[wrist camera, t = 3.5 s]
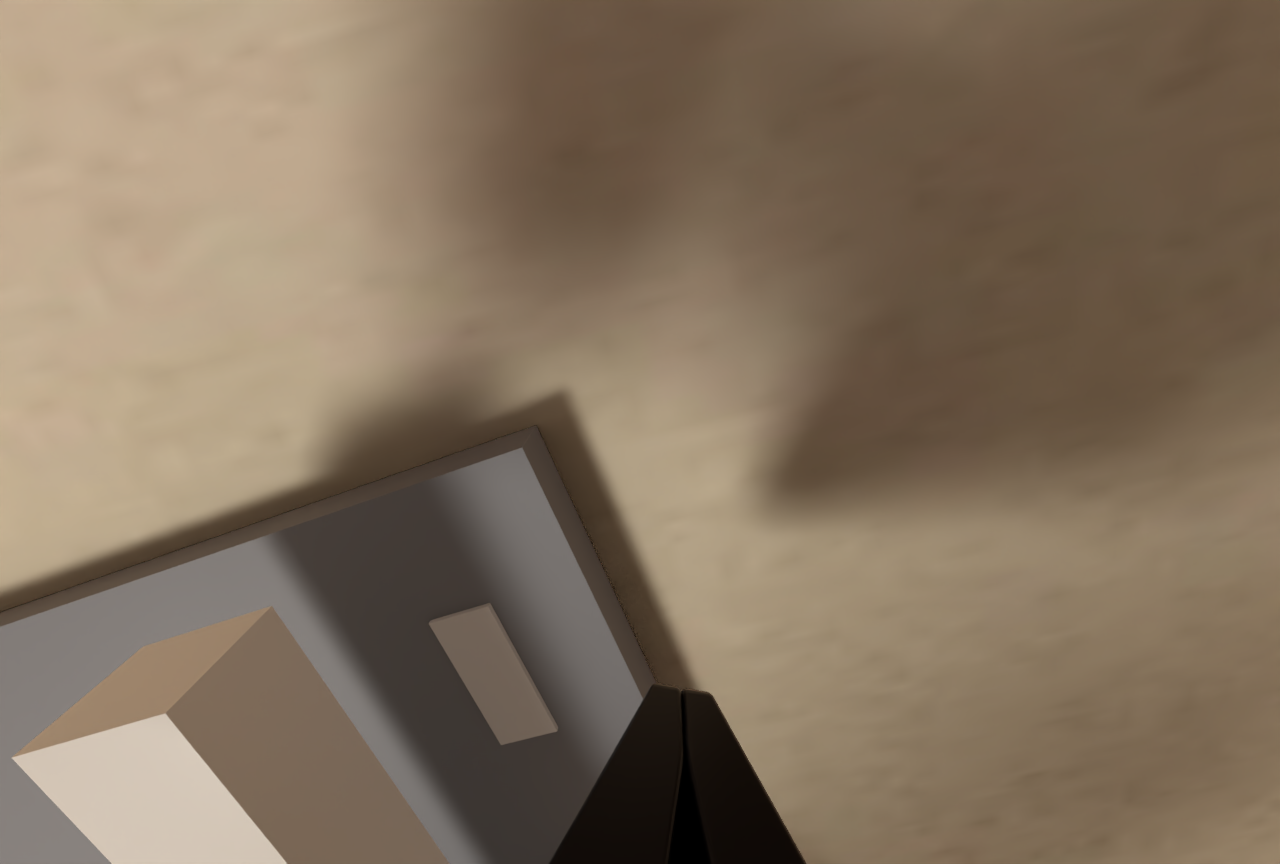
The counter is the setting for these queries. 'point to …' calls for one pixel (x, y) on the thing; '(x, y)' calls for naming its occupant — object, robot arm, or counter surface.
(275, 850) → the lever switch
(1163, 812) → the counter surface
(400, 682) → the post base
